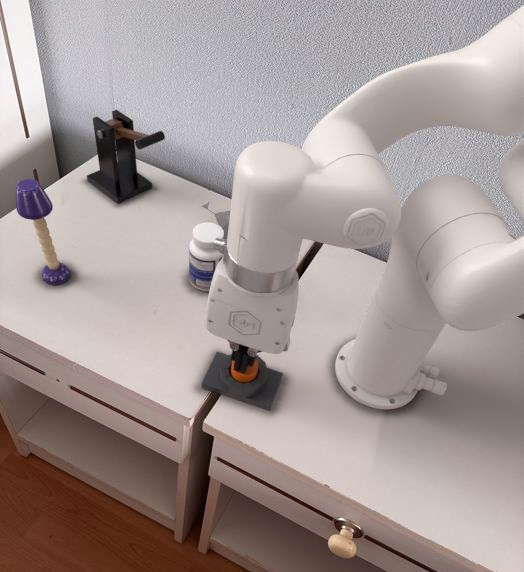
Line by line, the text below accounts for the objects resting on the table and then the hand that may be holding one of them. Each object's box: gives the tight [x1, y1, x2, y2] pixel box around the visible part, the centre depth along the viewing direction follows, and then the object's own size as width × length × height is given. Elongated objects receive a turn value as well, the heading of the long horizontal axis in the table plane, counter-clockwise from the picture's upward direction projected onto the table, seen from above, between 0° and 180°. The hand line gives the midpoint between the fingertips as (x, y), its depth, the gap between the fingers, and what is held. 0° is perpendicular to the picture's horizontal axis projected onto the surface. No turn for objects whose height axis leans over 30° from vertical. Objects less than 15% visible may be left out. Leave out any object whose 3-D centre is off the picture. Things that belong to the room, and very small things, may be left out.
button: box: [231, 359, 258, 383], centre depth 70 cm, size 4×4×2 cm
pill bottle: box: [188, 221, 224, 292], centre depth 80 cm, size 6×6×10 cm
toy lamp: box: [15, 178, 71, 286], centre depth 74 cm, size 5×5×17 cm
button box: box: [200, 351, 284, 412], centre depth 71 cm, size 10×6×3 cm, turn 73°
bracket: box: [86, 109, 153, 205], centre depth 92 cm, size 9×8×13 cm
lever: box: [104, 118, 166, 150], centre depth 86 cm, size 12×5×2 cm, turn 48°
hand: (242, 364), depth 69 cm, fingers closed
